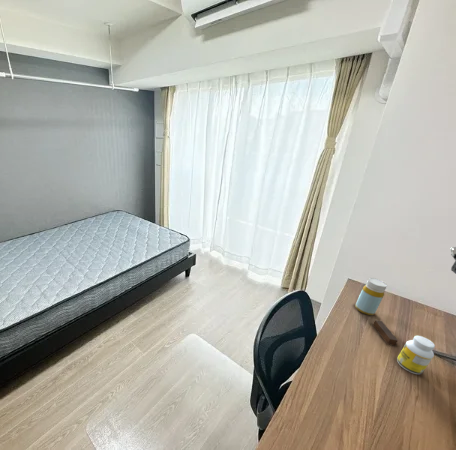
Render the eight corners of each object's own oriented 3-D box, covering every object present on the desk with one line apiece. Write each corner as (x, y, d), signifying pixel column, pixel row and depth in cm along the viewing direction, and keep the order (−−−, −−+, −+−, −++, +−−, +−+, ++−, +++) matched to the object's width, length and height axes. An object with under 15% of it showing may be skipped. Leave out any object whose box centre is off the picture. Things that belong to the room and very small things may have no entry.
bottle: (372, 308, 109) (386, 280, 104) (376, 318, 104) (390, 289, 98) (353, 302, 113) (365, 275, 107) (356, 311, 107) (368, 283, 101)
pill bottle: (397, 354, 87) (412, 330, 82) (423, 367, 82) (439, 342, 78) (394, 364, 83) (409, 339, 79) (421, 379, 78) (438, 353, 74)
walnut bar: (372, 324, 100) (375, 319, 99) (379, 325, 100) (382, 321, 99) (387, 343, 91) (390, 338, 90) (395, 345, 91) (398, 340, 90)
